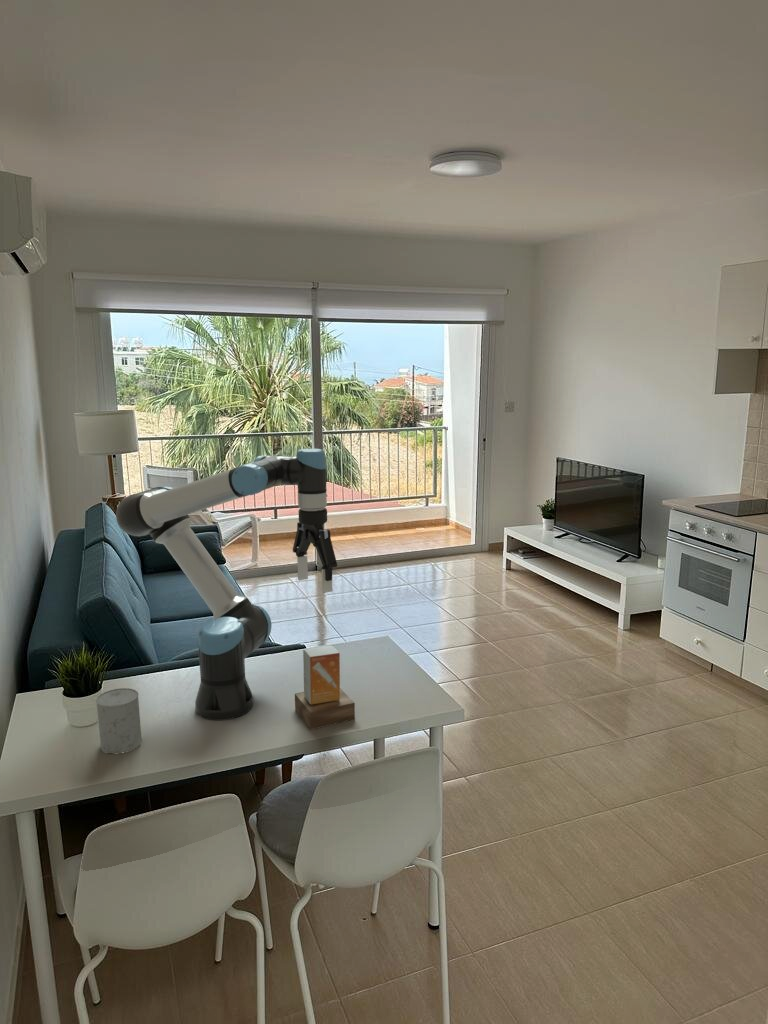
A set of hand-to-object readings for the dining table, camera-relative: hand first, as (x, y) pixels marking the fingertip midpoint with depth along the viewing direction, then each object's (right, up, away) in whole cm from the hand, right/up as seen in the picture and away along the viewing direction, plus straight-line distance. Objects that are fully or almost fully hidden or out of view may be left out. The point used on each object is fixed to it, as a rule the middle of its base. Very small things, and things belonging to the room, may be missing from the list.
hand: (314, 585), depth 195 cm
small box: (+2, -29, -6) cm, 30 cm away
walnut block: (+3, -34, -4) cm, 34 cm away
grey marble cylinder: (-45, -37, -19) cm, 61 cm away
